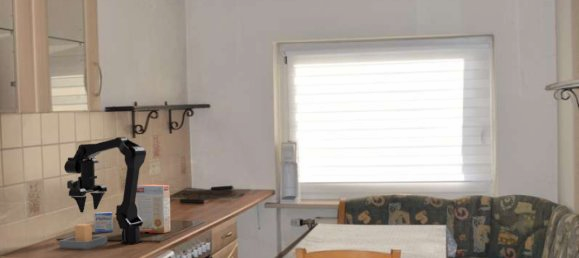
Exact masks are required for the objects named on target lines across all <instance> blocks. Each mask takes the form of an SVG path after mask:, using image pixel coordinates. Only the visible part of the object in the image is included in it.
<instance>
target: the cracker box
mask: <svg viewBox="0 0 579 258" xmlns="http://www.w3.org/2000/svg"><path fill="white" fill-rule="evenodd" d="M170 190H171V189H170V185H169V184H137V191H136V207H137V215H138V216H139V217H140V218H141V220H142V221H143V224H142V226H140V233H145V232H149V234H150V233H151V234H167V233H170V232H171V230H172V229H171V193H170V192H171V191H170Z"/></svg>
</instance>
